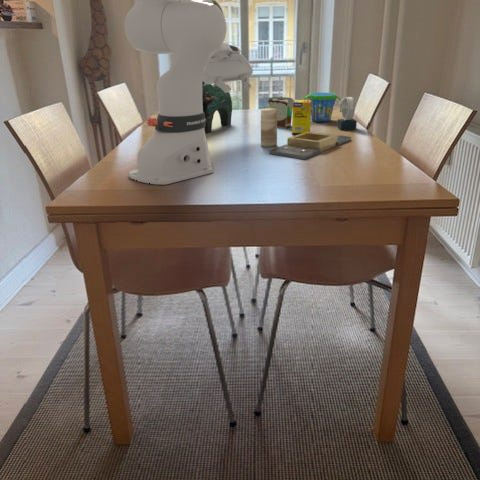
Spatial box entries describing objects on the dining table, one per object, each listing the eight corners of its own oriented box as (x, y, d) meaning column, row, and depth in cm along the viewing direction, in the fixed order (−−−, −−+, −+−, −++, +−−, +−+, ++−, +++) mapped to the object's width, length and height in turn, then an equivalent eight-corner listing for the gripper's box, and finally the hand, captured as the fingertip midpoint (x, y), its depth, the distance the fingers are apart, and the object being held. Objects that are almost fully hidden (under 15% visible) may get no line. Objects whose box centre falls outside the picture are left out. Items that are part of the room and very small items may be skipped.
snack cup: (342, 118, 179) (344, 92, 175) (340, 123, 170) (342, 95, 166) (303, 118, 183) (304, 92, 179) (299, 122, 174) (300, 95, 170)
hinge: (304, 159, 124) (305, 148, 122) (269, 153, 130) (269, 143, 129) (351, 140, 144) (351, 130, 143) (318, 135, 151) (318, 126, 150)
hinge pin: (270, 148, 137) (271, 111, 132) (257, 146, 140) (257, 110, 135) (280, 145, 140) (280, 109, 136) (267, 143, 143) (267, 107, 139)
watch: (350, 126, 165) (353, 95, 160) (357, 130, 157) (360, 98, 153) (335, 127, 164) (337, 95, 160) (341, 131, 157) (344, 98, 152)
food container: (300, 127, 166) (301, 99, 162) (288, 129, 163) (288, 100, 159) (280, 122, 175) (280, 95, 171) (267, 124, 172) (267, 97, 168)
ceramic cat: (207, 134, 158) (204, 74, 150) (192, 133, 161) (188, 74, 153) (235, 124, 174) (234, 69, 165) (221, 123, 176) (219, 69, 168)
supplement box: (309, 135, 152) (310, 102, 148) (291, 135, 153) (292, 102, 149) (310, 132, 157) (311, 99, 153) (293, 131, 159) (294, 99, 154)
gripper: (195, 49, 134) (219, 86, 132) (242, 47, 147) (264, 79, 145) (187, 65, 139) (210, 100, 137) (232, 61, 152) (254, 93, 150)
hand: (238, 89), depth 141 cm, fingers open, 8 cm apart
